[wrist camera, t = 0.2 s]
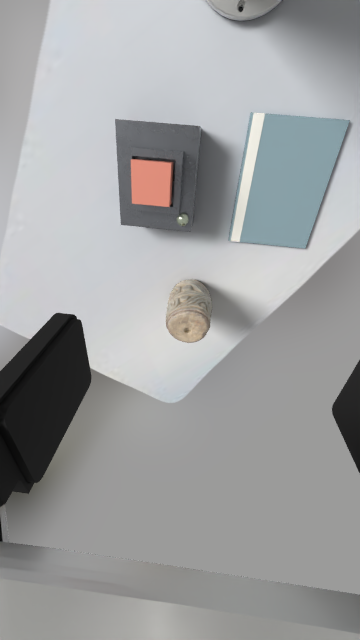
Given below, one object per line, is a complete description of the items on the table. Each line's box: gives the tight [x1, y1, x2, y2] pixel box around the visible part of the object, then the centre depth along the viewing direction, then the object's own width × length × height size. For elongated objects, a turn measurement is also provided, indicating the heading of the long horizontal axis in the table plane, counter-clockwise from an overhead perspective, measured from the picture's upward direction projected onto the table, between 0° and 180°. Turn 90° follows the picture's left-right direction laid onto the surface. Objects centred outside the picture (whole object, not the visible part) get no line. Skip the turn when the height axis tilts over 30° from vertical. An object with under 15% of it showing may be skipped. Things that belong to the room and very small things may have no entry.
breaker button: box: [131, 159, 173, 207], centre depth 31 cm, size 5×5×2 cm
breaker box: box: [115, 119, 201, 232], centre depth 35 cm, size 12×10×7 cm
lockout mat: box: [228, 112, 350, 248], centre depth 37 cm, size 16×12×1 cm
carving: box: [166, 280, 212, 343], centre depth 43 cm, size 6×8×12 cm
